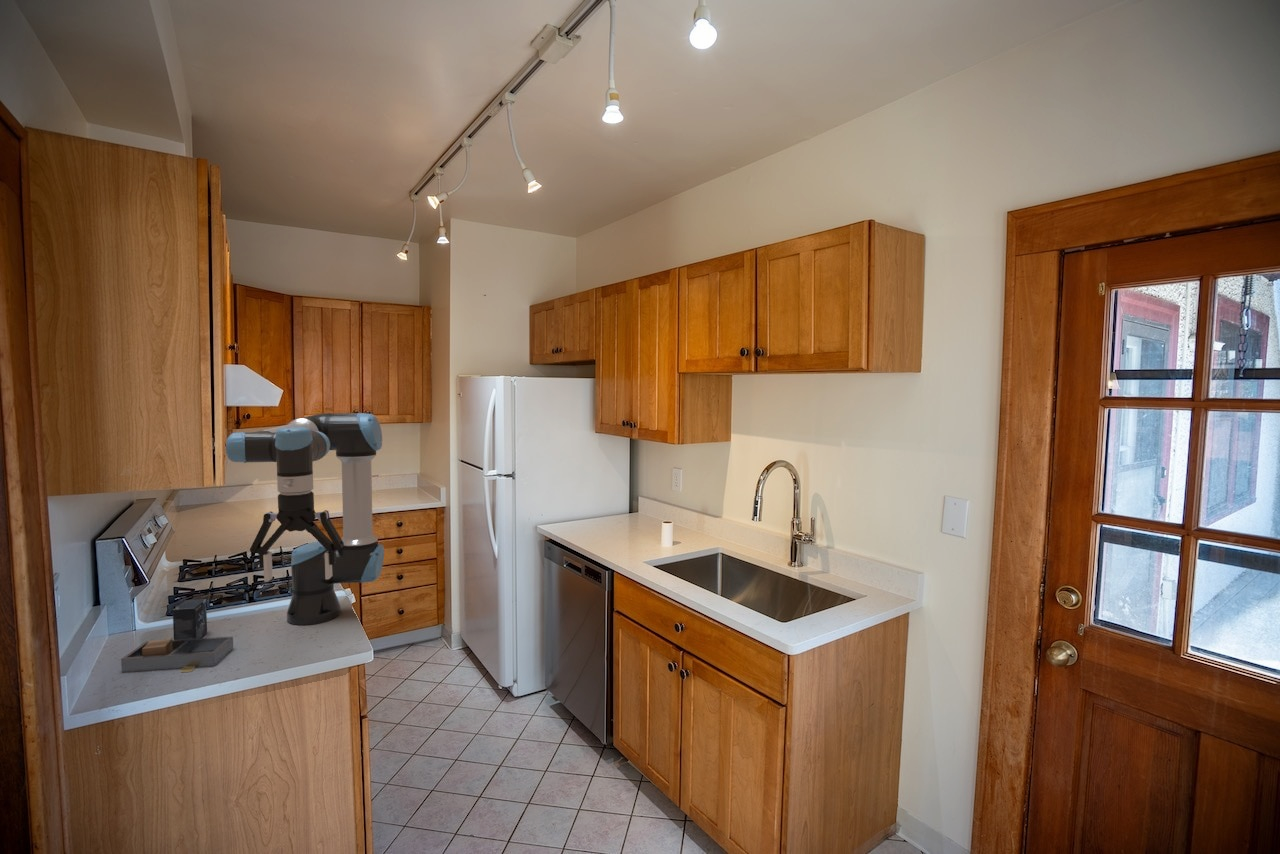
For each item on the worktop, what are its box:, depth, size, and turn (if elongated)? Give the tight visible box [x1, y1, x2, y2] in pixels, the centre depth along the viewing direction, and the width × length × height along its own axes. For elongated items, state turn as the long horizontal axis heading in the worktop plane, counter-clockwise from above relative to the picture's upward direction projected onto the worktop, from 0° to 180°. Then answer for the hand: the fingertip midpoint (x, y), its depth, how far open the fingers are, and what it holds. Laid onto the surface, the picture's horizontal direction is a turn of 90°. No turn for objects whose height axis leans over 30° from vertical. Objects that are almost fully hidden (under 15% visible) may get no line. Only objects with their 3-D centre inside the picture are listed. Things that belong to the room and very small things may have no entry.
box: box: [172, 598, 208, 640], centre depth 179 cm, size 8×6×11 cm
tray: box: [120, 636, 234, 673], centre depth 165 cm, size 13×22×4 cm, turn 100°
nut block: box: [142, 638, 173, 656], centre depth 165 cm, size 5×5×5 cm
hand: (298, 578), depth 150 cm, fingers open, 13 cm apart
